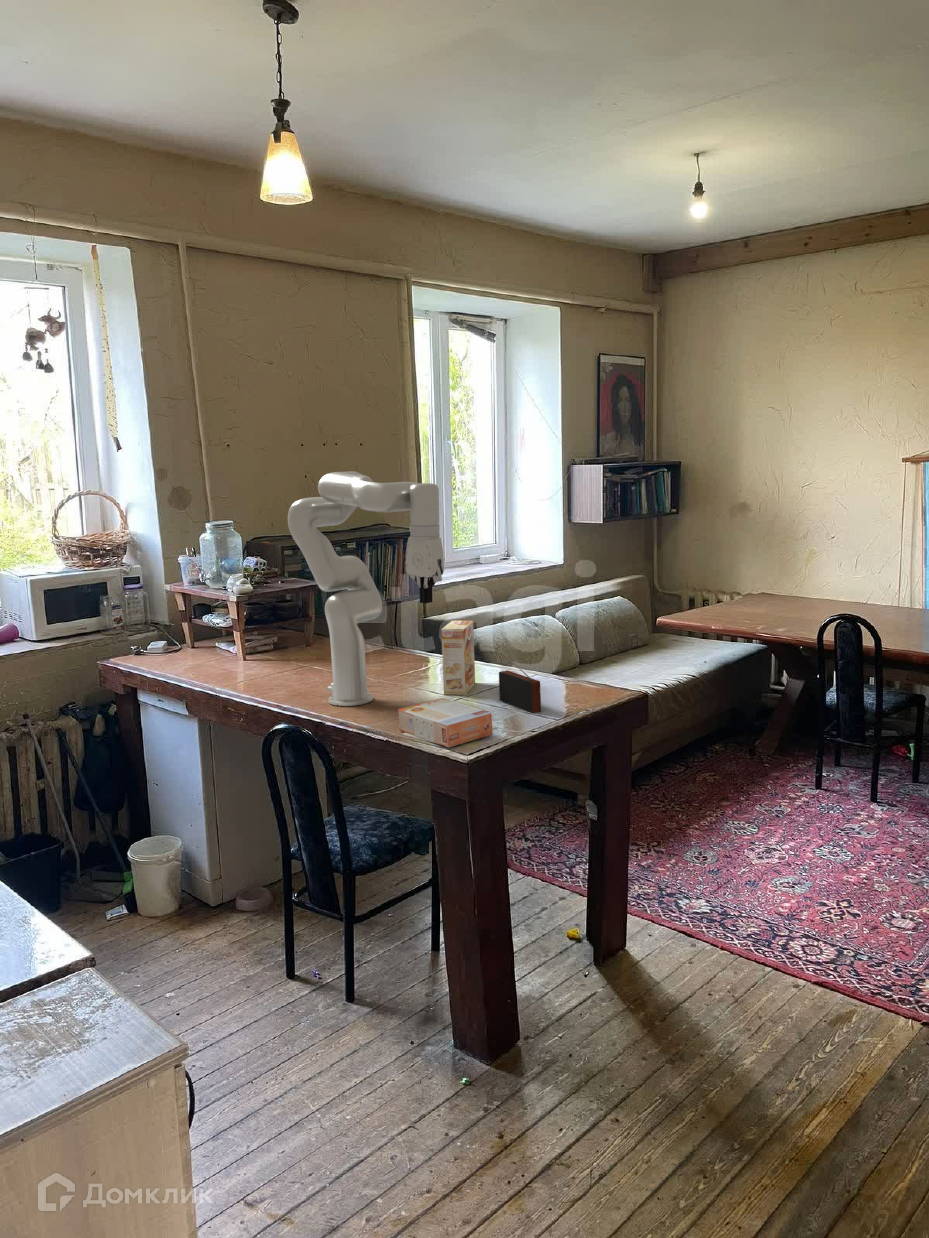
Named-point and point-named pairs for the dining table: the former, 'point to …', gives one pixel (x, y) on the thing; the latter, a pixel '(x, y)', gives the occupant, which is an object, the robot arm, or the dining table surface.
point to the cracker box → (445, 722)
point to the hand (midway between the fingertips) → (426, 602)
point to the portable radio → (519, 690)
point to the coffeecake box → (458, 657)
